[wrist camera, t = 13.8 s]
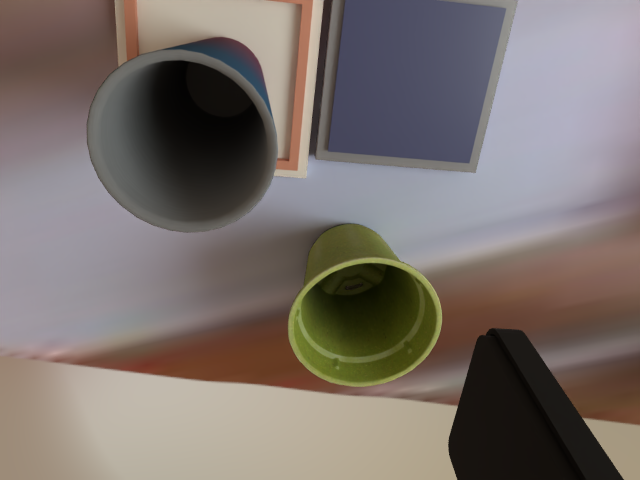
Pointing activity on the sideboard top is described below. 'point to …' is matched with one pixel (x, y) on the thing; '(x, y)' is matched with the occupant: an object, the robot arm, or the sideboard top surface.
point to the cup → (185, 135)
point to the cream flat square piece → (259, 36)
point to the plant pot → (362, 311)
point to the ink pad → (411, 81)
